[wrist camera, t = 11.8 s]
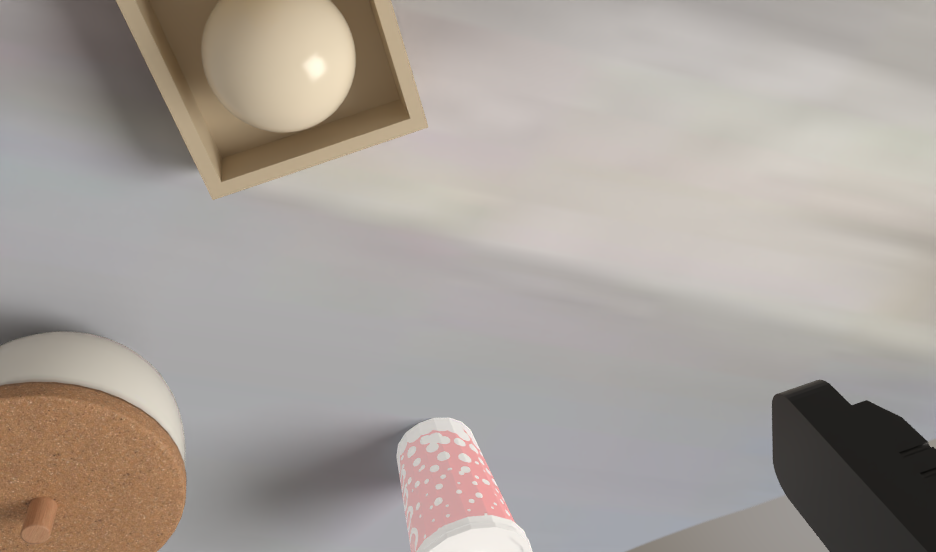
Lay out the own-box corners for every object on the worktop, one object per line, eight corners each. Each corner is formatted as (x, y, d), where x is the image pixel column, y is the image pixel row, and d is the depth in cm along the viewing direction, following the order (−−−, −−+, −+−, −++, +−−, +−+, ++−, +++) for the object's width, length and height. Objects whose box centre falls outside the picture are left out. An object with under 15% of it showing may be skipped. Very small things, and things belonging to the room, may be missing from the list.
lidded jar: (231, 340, 39) (229, 473, 31) (141, 492, 42) (118, 647, 34) (-3, 254, 34) (-75, 387, 26) (-85, 434, 37) (-170, 600, 30)
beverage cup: (401, 399, 43) (462, 616, 32) (501, 413, 46) (592, 620, 34) (369, 483, 46) (415, 713, 34) (466, 492, 48) (539, 710, 36)
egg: (319, -54, 31) (334, -30, 26) (364, 81, 34) (384, 125, 29) (179, -10, 30) (168, 23, 25) (238, 123, 33) (237, 175, 29)
